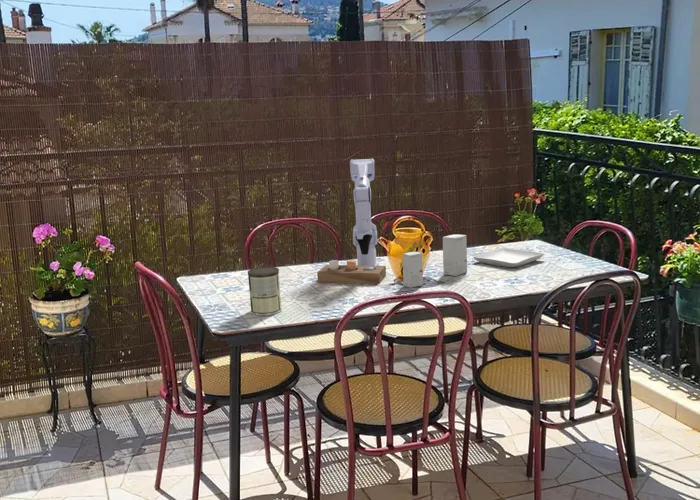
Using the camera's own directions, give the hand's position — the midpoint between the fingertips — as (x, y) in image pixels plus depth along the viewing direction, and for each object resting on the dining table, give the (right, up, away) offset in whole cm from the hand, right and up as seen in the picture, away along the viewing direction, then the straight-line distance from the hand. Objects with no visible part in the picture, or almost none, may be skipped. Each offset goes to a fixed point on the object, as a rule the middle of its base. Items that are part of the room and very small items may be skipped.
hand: (364, 254), depth 273 cm
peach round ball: (-5, -7, +3) cm, 9 cm away
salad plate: (+59, -4, +20) cm, 62 cm away
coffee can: (-34, -19, -33) cm, 51 cm away
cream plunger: (-12, -7, +5) cm, 14 cm away
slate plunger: (+2, -10, +2) cm, 10 cm away
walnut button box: (-5, -10, +3) cm, 11 cm away
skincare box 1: (+18, -12, -10) cm, 23 cm away
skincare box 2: (+35, -8, +5) cm, 36 cm away
